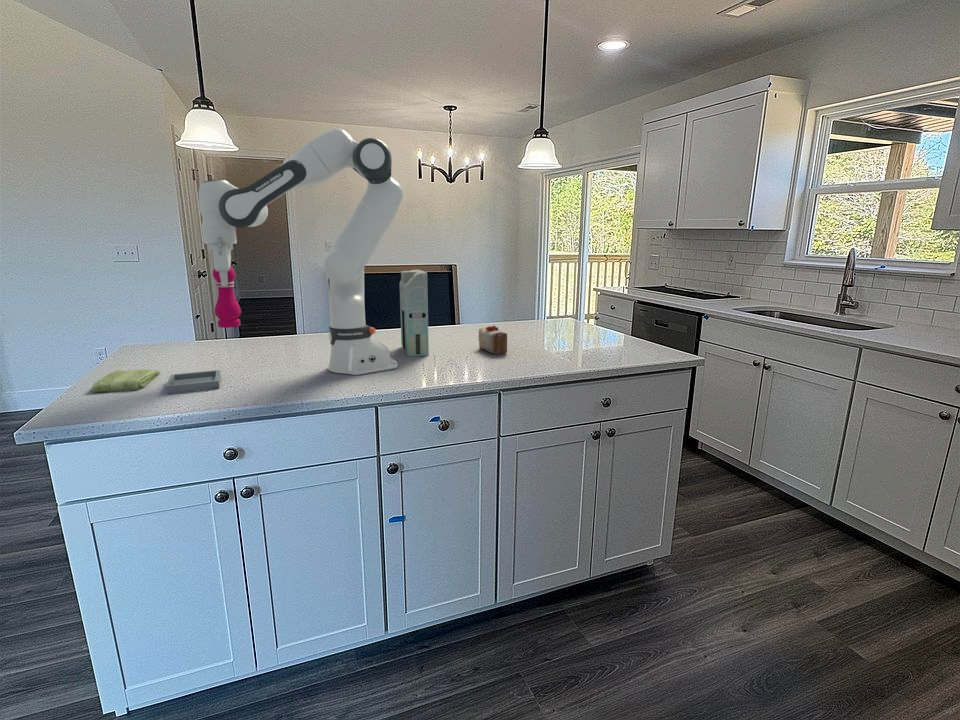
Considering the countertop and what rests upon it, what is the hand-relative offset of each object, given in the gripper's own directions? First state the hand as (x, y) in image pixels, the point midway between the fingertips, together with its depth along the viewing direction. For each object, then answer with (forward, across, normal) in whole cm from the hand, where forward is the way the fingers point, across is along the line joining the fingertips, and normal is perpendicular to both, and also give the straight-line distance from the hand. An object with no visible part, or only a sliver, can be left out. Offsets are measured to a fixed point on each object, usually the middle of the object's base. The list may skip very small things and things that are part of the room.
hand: (225, 284), depth 150 cm
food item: (+28, -4, -89) cm, 93 cm away
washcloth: (+29, +1, +29) cm, 41 cm away
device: (+28, +7, -62) cm, 68 cm away
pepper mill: (+13, 0, 0) cm, 13 cm away
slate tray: (+28, -9, +10) cm, 31 cm away
